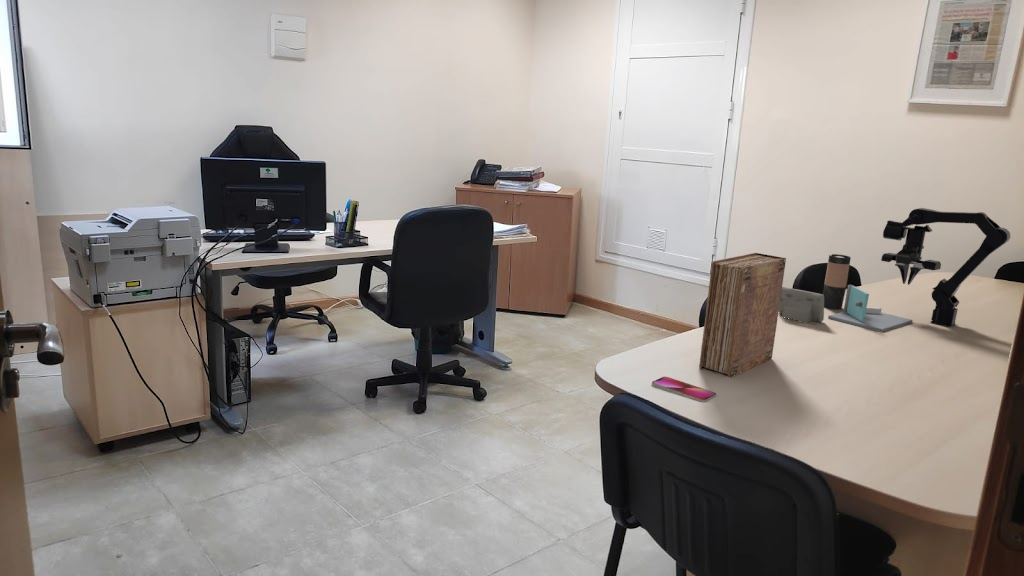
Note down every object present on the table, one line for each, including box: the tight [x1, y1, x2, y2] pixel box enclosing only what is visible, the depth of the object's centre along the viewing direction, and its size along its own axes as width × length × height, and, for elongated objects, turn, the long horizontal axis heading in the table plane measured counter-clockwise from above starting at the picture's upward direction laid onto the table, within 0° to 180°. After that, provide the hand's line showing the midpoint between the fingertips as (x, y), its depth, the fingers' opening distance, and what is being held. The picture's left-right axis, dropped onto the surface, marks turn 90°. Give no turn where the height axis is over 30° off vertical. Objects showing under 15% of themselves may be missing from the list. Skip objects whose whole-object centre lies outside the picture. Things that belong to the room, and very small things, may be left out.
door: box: [843, 284, 870, 322], centre depth 250 cm, size 14×3×10 cm, turn 178°
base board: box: [827, 306, 913, 333], centre depth 252 cm, size 19×24×3 cm
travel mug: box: [822, 253, 852, 310], centre depth 267 cm, size 8×8×20 cm
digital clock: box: [778, 286, 825, 324], centre depth 249 cm, size 16×9×11 cm, turn 37°
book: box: [698, 252, 787, 378], centre depth 194 cm, size 25×9×30 cm, turn 135°
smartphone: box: [651, 376, 717, 403], centre depth 176 cm, size 7×1×15 cm
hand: (906, 284), depth 259 cm, fingers closed
